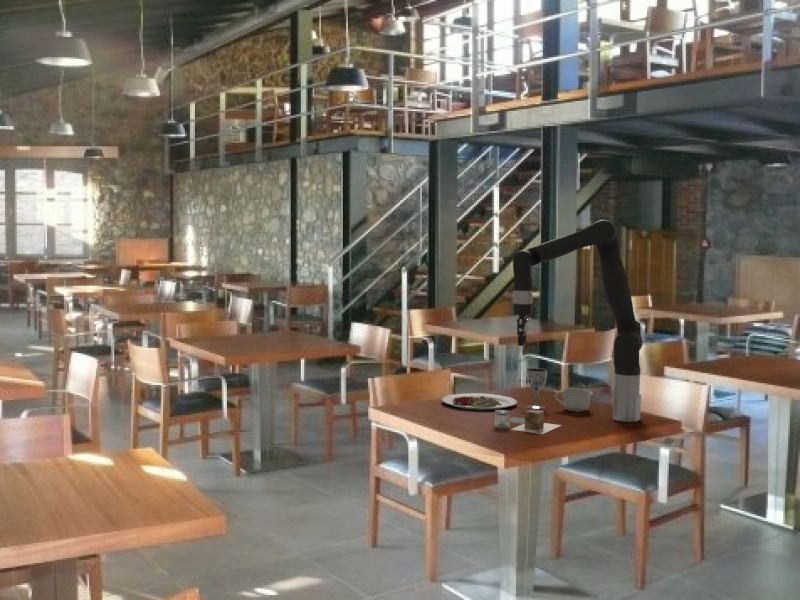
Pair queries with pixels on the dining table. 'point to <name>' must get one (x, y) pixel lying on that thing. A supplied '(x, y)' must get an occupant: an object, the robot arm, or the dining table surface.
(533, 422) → the walnut block
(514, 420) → the coaster
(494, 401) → the plated food
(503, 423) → the tin
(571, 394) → the teacup
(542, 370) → the wine glass
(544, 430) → the envelope
